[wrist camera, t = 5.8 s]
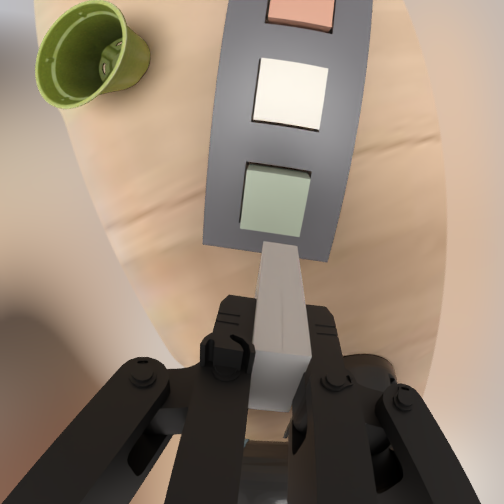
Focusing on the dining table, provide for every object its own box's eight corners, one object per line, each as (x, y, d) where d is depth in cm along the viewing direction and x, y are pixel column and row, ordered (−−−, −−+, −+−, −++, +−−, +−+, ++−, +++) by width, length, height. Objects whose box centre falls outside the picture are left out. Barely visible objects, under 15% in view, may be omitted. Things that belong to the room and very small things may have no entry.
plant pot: (163, 10, 20) (123, -19, 12) (172, 92, 24) (130, 87, 16) (86, 40, 21) (34, 30, 13) (93, 115, 25) (39, 124, 17)
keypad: (323, 248, 30) (327, 262, 27) (209, 231, 30) (202, 244, 27) (365, -16, 17) (373, -27, 14) (242, -36, 17) (238, -49, 14)
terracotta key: (325, 35, 19) (331, 27, 17) (268, 26, 19) (268, 17, 17) (330, -8, 17) (335, -19, 14) (275, -17, 17) (274, -29, 14)
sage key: (297, 224, 27) (299, 237, 24) (243, 216, 27) (239, 228, 24) (307, 172, 24) (310, 179, 22) (249, 163, 24) (246, 169, 22)
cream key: (314, 128, 23) (319, 129, 20) (255, 118, 23) (253, 119, 20) (322, 73, 20) (328, 68, 18) (262, 63, 20) (261, 57, 18)
